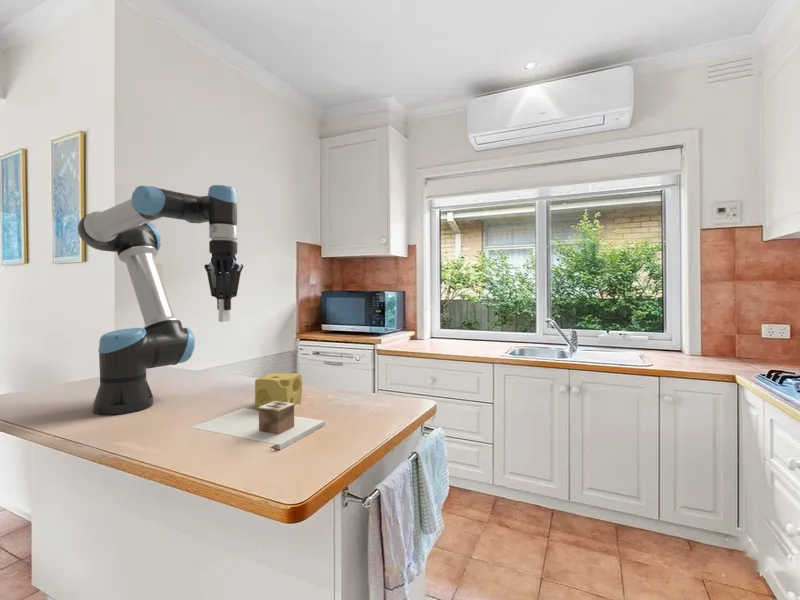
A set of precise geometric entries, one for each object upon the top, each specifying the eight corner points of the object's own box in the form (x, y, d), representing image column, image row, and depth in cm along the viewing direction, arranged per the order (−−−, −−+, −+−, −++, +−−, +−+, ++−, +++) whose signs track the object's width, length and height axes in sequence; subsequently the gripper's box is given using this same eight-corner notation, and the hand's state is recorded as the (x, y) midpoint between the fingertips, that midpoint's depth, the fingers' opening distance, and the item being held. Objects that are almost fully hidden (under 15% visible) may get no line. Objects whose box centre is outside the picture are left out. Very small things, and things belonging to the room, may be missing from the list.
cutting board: (190, 432, 105) (190, 427, 105) (243, 412, 121) (243, 408, 121) (280, 450, 94) (280, 444, 94) (324, 425, 110) (324, 420, 110)
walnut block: (278, 409, 100) (278, 434, 100) (294, 403, 105) (294, 426, 105) (258, 406, 102) (258, 431, 102) (275, 400, 108) (275, 423, 108)
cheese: (287, 415, 119) (286, 380, 118) (252, 412, 121) (252, 378, 120) (302, 405, 129) (302, 373, 128) (271, 403, 131) (270, 371, 131)
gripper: (196, 239, 120) (197, 321, 121) (230, 238, 115) (231, 323, 116) (216, 242, 127) (217, 319, 128) (250, 240, 122) (250, 321, 122)
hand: (224, 321), depth 122 cm, fingers closed
